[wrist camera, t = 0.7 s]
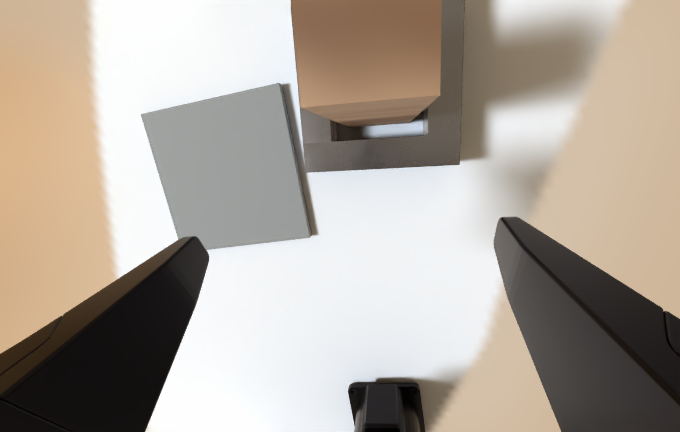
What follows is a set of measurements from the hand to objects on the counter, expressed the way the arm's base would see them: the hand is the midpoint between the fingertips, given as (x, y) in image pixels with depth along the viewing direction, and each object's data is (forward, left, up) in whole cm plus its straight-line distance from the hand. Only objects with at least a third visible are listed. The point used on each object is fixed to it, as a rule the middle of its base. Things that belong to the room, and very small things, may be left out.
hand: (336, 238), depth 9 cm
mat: (+2, +11, -15) cm, 19 cm away
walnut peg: (+6, -2, -15) cm, 16 cm away
